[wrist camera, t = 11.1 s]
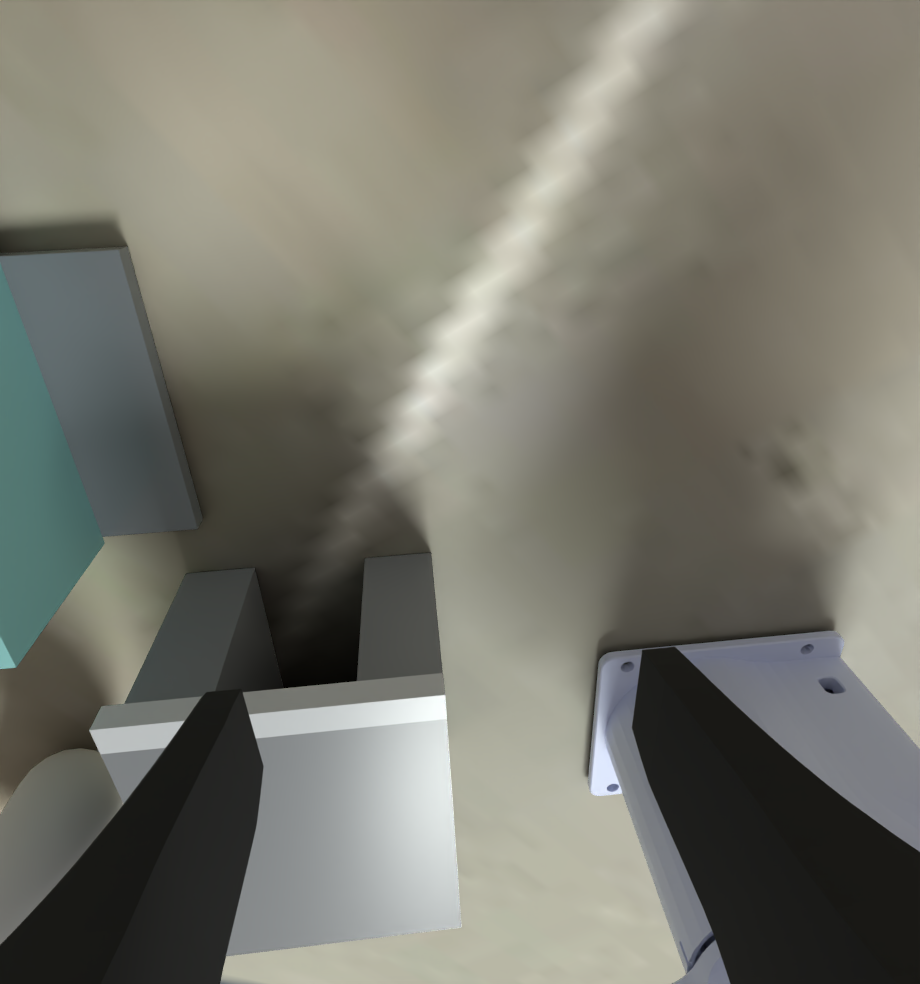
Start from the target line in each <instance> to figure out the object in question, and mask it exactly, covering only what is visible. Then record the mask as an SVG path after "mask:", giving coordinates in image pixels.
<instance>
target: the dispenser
mask: <svg viewBox="0 0 920 984" xmlns="http://www.w3.org/2000/svg"><path fill="white" fill-rule="evenodd" d="M233 689H242V692H243V696H244V699H245V703H246V706H247V710H248V713H249V717H250V720H251V724H252V727H253V731H254V734H255V738H256V741H257V745H258V748H259V752H260V755H261V759H262V762H263V766H264V768H263V777H262V786H261V795H260V803H259V811H258V818H257V826H256V830H255V835H254V839H253V844H252V848H251V852H250V857H249V861H248V865H247V870H246V874H245V878H244V882H243V887H242V891H241V895H240V899H239V903H238V907H237V912H236V916H235V920H234V924H233V928H232V933H231V937H230V941H229V945H228V949H227V954H226V956H233V955H241V954H249V953H257V952H265V951H273V950H282V949H290V948H298V947H306V946H314V945H322V944H331V943H339V942H347V941H355V940H363V939H371V938H380V937H388V936H396V935H404V934H412V933H420V932H428V931H437V930H445V929H453V928H461V913H460V899H459V885H458V870H457V856H456V842H455V828H454V814H453V799H452V785H451V771H450V757H449V742H448V728H447V714H446V700H445V688H444V678H443V673H442V662H441V652H440V641H439V631H438V620H437V610H436V599H435V588H434V578H433V567H432V557H431V553H421V554H409V555H397V556H386V557H374V558H365V564H364V580H363V595H362V611H361V626H360V642H359V657H358V672H357V681H355V682H344V683H334V684H324V685H313V686H303V687H293V688H284V687H283V683H282V679H281V675H280V671H279V667H278V663H277V658H276V654H275V650H274V646H273V642H272V638H271V633H270V629H269V625H268V621H267V617H266V613H265V609H264V604H263V600H262V596H261V592H260V588H259V584H258V580H257V575H256V571H255V568H245V569H233V570H222V571H210V572H198V573H187V574H186V575H185V577H184V579H183V581H182V583H181V585H180V587H179V590H178V592H177V594H176V596H175V598H174V600H173V602H172V604H171V606H170V609H169V611H168V613H167V615H166V617H165V619H164V621H163V623H162V625H161V628H160V630H159V632H158V634H157V636H156V638H155V640H154V642H153V644H152V647H151V649H150V651H149V653H148V655H147V657H146V659H145V661H144V663H143V666H142V668H141V670H140V672H139V674H138V676H137V678H136V680H135V682H134V684H133V687H132V689H131V691H130V693H129V695H128V697H127V699H126V701H125V703H124V704H118V705H108V706H101V708H100V710H99V712H98V714H97V716H96V718H95V720H94V722H93V724H92V726H91V728H90V730H89V731H90V733H91V735H92V738H93V740H94V742H95V744H96V746H97V748H98V750H99V752H100V755H101V757H102V759H103V761H104V763H105V765H106V767H107V770H108V772H109V774H110V776H111V778H112V780H113V782H114V785H115V787H116V789H117V791H118V793H119V795H120V797H121V799H122V802H123V804H124V803H125V801H126V800H127V799H128V798H129V796H130V795H131V794H132V792H133V791H134V790H135V788H136V787H137V786H138V784H139V783H140V782H141V780H142V779H143V778H144V776H145V775H146V774H147V772H148V771H149V770H150V769H151V767H152V766H153V765H154V763H155V762H156V760H157V759H158V758H159V756H160V755H161V754H162V752H163V751H164V749H165V748H166V747H167V745H168V744H169V742H170V741H171V740H172V738H173V737H174V735H175V734H176V733H177V731H178V730H179V728H180V727H181V726H182V724H183V723H184V721H185V720H186V718H187V717H188V716H189V714H190V713H191V711H192V710H193V708H194V707H195V706H196V704H197V703H198V701H199V700H200V698H201V697H202V696H203V695H204V694H205V693H206V692H212V691H223V690H233Z"/></svg>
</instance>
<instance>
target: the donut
mask: <svg viewBox="0 0 920 984" xmlns="http://www.w3.org/2000/svg"><path fill="white" fill-rule="evenodd" d="M122 805H123V802H122V799H121V797H120V795H119V793H118V791H117V789H116V787H115V785H114V782H113V780H112V778H111V776H110V774H109V772H108V770H107V767H106V765H105V763H104V761H103V759H102V757H101V755H100V753H99V752H98V751H95V750H89V749H82V748H78V749H71V750H63V751H61V752H59V753H56V754H54V755H51V756H49V757H47V758H45V759H44V760H43V761H41V762H40V763H39V764H37V765H36V766H35V767H33V768H32V769H31V770H30V771H29V772H28V774H27V775H26V776H25V777H24V779H23V780H22V781H21V783H20V784H19V785H18V787H17V788H16V790H15V791H14V793H13V794H12V796H11V798H10V799H9V801H8V802H7V804H6V806H5V807H4V809H3V811H2V812H1V814H0V944H1V943H2V942H3V941H4V940H5V939H6V938H7V937H8V936H9V935H10V934H11V933H12V932H13V931H14V930H15V929H16V928H17V927H18V926H19V925H20V924H21V923H22V922H23V921H24V919H25V918H26V917H27V916H28V915H29V914H30V913H31V912H32V911H33V910H34V909H35V908H36V907H37V905H38V904H39V903H40V902H41V901H42V900H43V899H44V898H45V897H46V896H47V895H48V893H49V892H50V891H51V890H52V889H53V888H54V887H55V886H56V885H57V883H58V882H59V881H60V880H61V879H62V878H63V877H64V875H65V874H66V873H67V872H68V871H69V870H70V869H71V867H72V866H73V865H74V864H75V863H76V862H77V860H78V859H79V858H80V857H81V856H82V854H83V853H84V852H85V851H86V850H87V848H88V847H89V846H90V845H91V843H92V842H93V841H94V840H95V839H96V837H97V836H98V835H99V834H100V833H101V831H102V830H103V829H104V828H105V827H106V825H107V824H108V823H109V822H110V820H111V819H112V818H113V817H114V816H115V814H116V813H117V812H118V810H119V809H120V808H121V807H122Z"/></svg>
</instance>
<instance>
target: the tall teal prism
mask: <svg viewBox="0 0 920 984" xmlns="http://www.w3.org/2000/svg"><path fill="white" fill-rule="evenodd" d="M104 544H105V543H104V540H103V537H102V535H101V532H100V529H99V527H98V524H97V521H96V519H95V516H94V513H93V510H92V508H91V505H90V502H89V500H88V497H87V494H86V492H85V489H84V486H83V484H82V481H81V478H80V476H79V473H78V470H77V468H76V465H75V462H74V460H73V457H72V454H71V451H70V449H69V446H68V443H67V441H66V438H65V435H64V433H63V430H62V427H61V425H60V422H59V419H58V417H57V414H56V411H55V409H54V406H53V403H52V401H51V398H50V395H49V392H48V390H47V387H46V384H45V382H44V379H43V376H42V374H41V371H40V368H39V366H38V363H37V360H36V358H35V355H34V352H33V350H32V347H31V344H30V341H29V339H28V336H27V333H26V331H25V328H24V325H23V323H22V320H21V317H20V315H19V312H18V309H17V307H16V304H15V301H14V299H13V296H12V293H11V291H10V288H9V285H8V282H7V280H6V277H5V274H4V272H3V269H2V266H1V264H0V669H7V668H16V667H17V666H18V665H19V663H20V662H21V660H22V659H23V657H24V656H25V655H26V653H27V652H28V650H29V649H30V648H31V646H32V645H33V643H34V642H35V641H36V639H37V638H38V636H39V635H40V634H41V632H42V631H43V629H44V628H45V627H46V625H47V624H48V622H49V621H50V620H51V618H52V617H53V615H54V614H55V612H56V611H57V610H58V608H59V607H60V605H61V604H62V603H63V601H64V600H65V598H66V597H67V596H68V594H69V593H70V591H71V590H72V589H73V587H74V586H75V584H76V583H77V582H78V580H79V579H80V577H81V576H82V575H83V573H84V572H85V570H86V569H87V567H88V566H89V565H90V563H91V562H92V560H93V559H94V558H95V556H96V555H97V553H98V552H99V551H100V549H101V548H102V546H103V545H104Z"/></svg>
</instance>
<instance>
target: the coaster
mask: <svg viewBox="0 0 920 984" xmlns="http://www.w3.org/2000/svg"><path fill="white" fill-rule="evenodd" d="M0 264H1V266H2V269H3V272H4V274H5V277H6V280H7V282H8V285H9V288H10V291H11V293H12V296H13V299H14V301H15V304H16V307H17V309H18V312H19V315H20V317H21V320H22V323H23V325H24V328H25V331H26V333H27V336H28V339H29V341H30V344H31V347H32V350H33V352H34V355H35V358H36V360H37V363H38V366H39V368H40V371H41V374H42V376H43V379H44V382H45V384H46V387H47V390H48V392H49V395H50V398H51V401H52V403H53V406H54V409H55V411H56V414H57V417H58V419H59V422H60V425H61V427H62V430H63V433H64V435H65V438H66V441H67V443H68V446H69V449H70V451H71V454H72V457H73V460H74V462H75V465H76V468H77V470H78V473H79V476H80V478H81V481H82V484H83V486H84V489H85V492H86V494H87V497H88V500H89V502H90V505H91V508H92V510H93V513H94V516H95V519H96V521H97V524H98V527H99V529H100V532H101V535H102V537H106V536H118V535H130V534H143V533H155V532H167V531H179V530H192V529H198V528H199V526H200V524H201V522H202V520H203V517H202V514H201V510H200V506H199V503H198V499H197V496H196V492H195V488H194V485H193V481H192V477H191V474H190V470H189V467H188V463H187V459H186V456H185V452H184V449H183V445H182V441H181V438H180V434H179V431H178V427H177V423H176V420H175V416H174V412H173V409H172V405H171V402H170V398H169V394H168V391H167V387H166V384H165V380H164V376H163V373H162V369H161V366H160V362H159V358H158V355H157V351H156V347H155V344H154V340H153V337H152V333H151V329H150V326H149V322H148V319H147V315H146V311H145V308H144V304H143V301H142V297H141V293H140V290H139V286H138V282H137V279H136V275H135V272H134V268H133V264H132V261H131V257H130V254H129V250H128V246H125V247H106V248H88V249H69V250H50V251H32V252H13V253H0Z"/></svg>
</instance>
